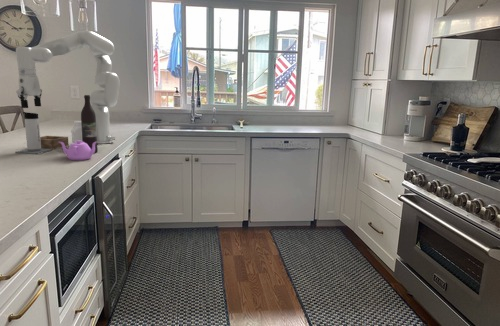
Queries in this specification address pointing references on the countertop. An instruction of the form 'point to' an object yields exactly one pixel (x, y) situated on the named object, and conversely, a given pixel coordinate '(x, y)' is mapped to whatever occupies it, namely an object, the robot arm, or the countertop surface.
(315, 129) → the countertop surface
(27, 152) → the mat
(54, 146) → the collar
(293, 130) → the countertop surface
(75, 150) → the teapot
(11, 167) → the countertop surface
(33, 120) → the travel mug
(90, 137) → the wine bottle
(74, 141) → the jar
